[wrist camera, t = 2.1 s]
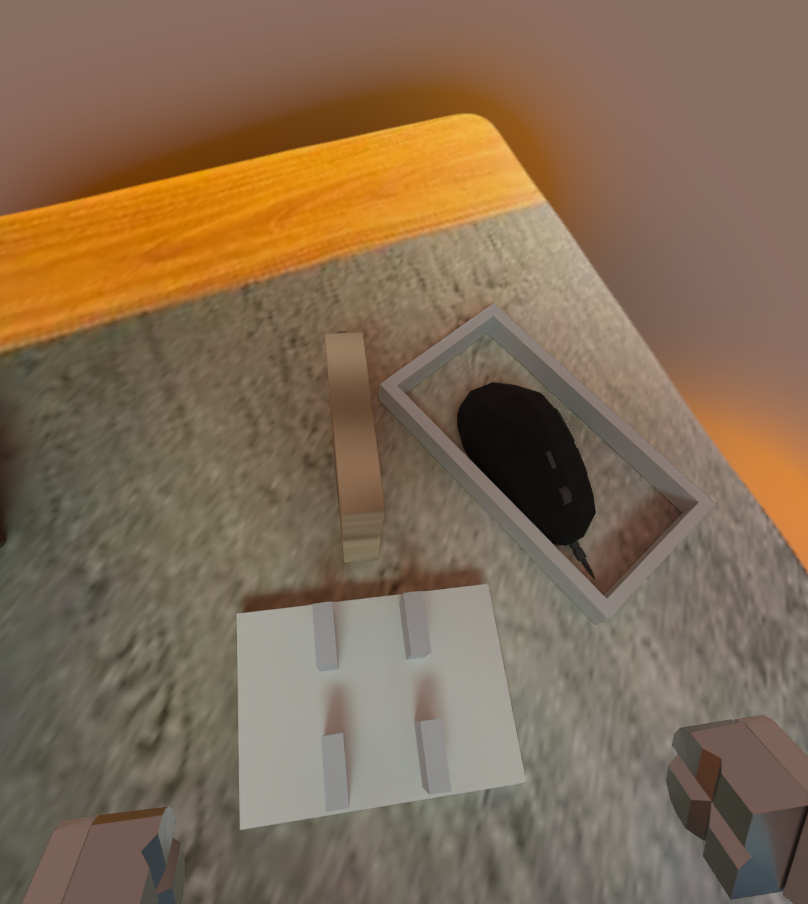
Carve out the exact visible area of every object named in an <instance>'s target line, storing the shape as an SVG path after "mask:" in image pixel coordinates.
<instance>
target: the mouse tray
mask: <svg viewBox="0 0 808 904" xmlns="http://www.w3.org/2000/svg"><path fill="white" fill-rule="evenodd" d="M487 333H488V334H489V335H490V336H491V337H492V338H493V339H495V340H496V341H497V342H498V343H499V344H500V345H501V346H502V347H503V348H504V349H505V350H506V351H508V352H509V353H510V354H511V355H512V356H513V357H514V358H515V359H516V360H517V361H518V362H519V363H521V364H522V365H523V366H524V367H525V368H526V369H527V370H528V371H529V372H530V373H531V374H532V375H534V376H535V377H536V378H537V379H538V380H539V381H540V382H541V383H542V384H543V385H544V386H545V387H547V388H548V389H549V390H550V391H551V392H552V393H553V394H554V395H555V396H556V397H557V398H558V399H560V400H561V401H562V402H563V403H564V404H565V405H566V406H567V407H568V408H569V409H570V410H571V411H573V412H574V413H575V414H576V415H577V416H578V417H579V418H580V419H581V420H582V421H583V422H584V423H586V424H587V425H588V426H589V427H590V428H591V429H592V430H593V431H594V432H595V433H596V434H597V435H599V436H600V437H601V438H602V439H603V440H604V441H605V442H606V443H607V444H608V445H609V446H610V447H612V448H613V449H614V450H615V451H616V452H617V453H618V454H619V455H620V456H621V457H622V458H623V459H625V460H626V461H627V462H628V463H629V464H630V465H631V466H632V467H633V468H634V469H635V470H636V471H638V472H639V473H640V474H641V475H642V476H643V477H644V478H645V479H646V480H647V481H648V482H649V483H651V484H652V485H653V486H654V487H655V488H656V489H657V490H658V491H659V492H660V493H661V494H662V495H664V496H665V497H666V498H667V499H668V500H669V501H670V502H671V503H672V504H673V505H674V506H675V507H677V508H678V509H679V510H680V511H681V512H682V514H681V515H680V516H679V517H678V518H677V519H676V520H675V521H674V522H673V523H672V524H671V525H670V526H669V527H668V528H667V529H666V530H665V531H664V532H663V533H662V534H661V535H660V536H659V538H658V539H657V540H656V541H655V542H654V543H653V544H652V545H651V546H650V547H649V548H648V549H647V550H646V551H645V552H644V553H643V554H642V555H641V556H640V557H639V558H638V559H637V561H636V562H635V563H634V564H633V565H632V566H631V567H630V568H629V569H628V570H627V571H626V572H625V573H624V574H623V575H622V576H621V577H620V578H619V579H618V580H617V581H616V582H615V584H614V585H613V586H612V587H611V588H610V589H609V590H608V591H607V592H606V593H605V594H604V595H603V594H602V593H601V592H600V591H599V590H598V589H597V588H596V587H595V586H594V585H593V584H592V583H591V582H590V581H589V580H588V579H587V578H586V577H585V576H584V575H583V574H582V573H581V572H580V571H579V570H578V569H577V568H576V567H575V566H574V565H573V564H572V563H571V562H570V561H569V560H568V559H567V558H566V557H565V556H564V555H563V554H562V553H561V552H560V551H559V550H558V549H557V548H556V547H555V546H554V545H553V544H552V543H551V541H550V540H549V539H548V538H547V537H546V536H545V535H544V534H543V533H542V532H541V531H540V530H539V529H538V528H537V527H536V526H535V525H534V524H533V523H532V522H531V521H530V520H529V519H528V518H527V517H526V516H525V515H524V514H523V513H522V512H521V511H520V510H519V509H518V508H517V507H516V506H515V505H514V504H513V503H512V502H511V501H510V500H509V499H508V498H507V497H506V496H505V495H504V494H503V493H502V492H501V491H500V490H499V489H498V488H497V487H496V486H495V485H494V484H493V482H492V481H491V480H490V479H489V478H488V477H487V476H486V475H485V474H484V473H483V472H482V471H481V470H480V469H479V468H478V467H477V466H476V465H475V464H474V463H473V462H472V461H471V460H470V459H469V458H468V457H467V456H466V455H465V454H464V453H463V452H462V451H461V450H460V449H459V448H458V447H457V446H456V445H455V444H454V443H453V442H452V441H451V440H450V439H449V438H448V437H447V436H446V435H445V434H444V433H443V432H442V431H441V430H440V429H439V428H438V427H437V426H436V424H435V423H434V422H433V421H432V420H431V419H430V418H429V417H428V416H427V415H426V414H425V413H424V412H423V411H422V410H421V409H420V408H419V407H418V406H417V405H416V404H415V403H414V402H413V401H412V400H411V399H410V398H409V397H408V396H407V395H406V394H405V393H406V392H408V391H409V390H410V389H412V388H413V387H415V386H416V385H417V384H419V383H420V382H421V381H423V380H424V379H426V378H427V377H428V376H430V375H431V374H432V373H434V372H435V371H436V370H438V369H439V368H441V367H442V366H443V365H445V364H446V363H447V362H449V361H450V360H452V359H453V358H454V357H456V356H457V355H458V354H460V353H461V352H462V351H464V350H465V349H467V348H468V347H469V346H471V345H472V344H473V343H475V342H476V341H477V340H479V339H480V338H482V337H483V336H484V335H486V334H487ZM378 399H379V400H380V401H381V402H382V403H383V405H384V406H385V407H386V408H387V409H388V410H389V411H390V412H391V413H392V414H393V415H394V416H395V417H396V418H397V419H398V420H399V421H400V422H401V423H402V424H403V425H404V426H405V427H406V428H407V429H408V431H409V432H410V433H411V434H412V435H413V436H414V437H415V438H416V439H417V440H418V441H419V442H420V443H421V444H422V445H423V446H424V447H425V448H426V449H427V450H428V451H429V452H430V453H431V454H432V456H433V457H434V458H435V459H436V460H437V461H438V462H439V463H440V464H441V465H442V466H443V467H444V468H445V469H446V470H447V471H448V472H449V473H450V474H451V475H452V476H453V477H454V478H455V479H456V480H457V482H458V483H459V484H460V485H461V486H462V487H463V488H464V489H465V490H466V491H467V492H468V493H469V494H470V495H471V496H472V497H473V498H474V499H475V500H476V501H477V502H478V503H479V504H480V505H481V506H482V508H483V509H484V510H485V511H486V512H487V513H488V514H489V515H490V516H491V517H492V518H493V519H494V520H495V521H496V522H497V523H498V524H499V525H500V526H501V527H502V528H503V529H504V530H505V531H506V533H507V534H508V535H509V536H510V537H511V538H512V539H513V540H514V541H515V542H516V543H517V544H518V545H519V546H520V547H521V548H522V549H523V550H524V551H525V552H526V553H527V554H528V555H529V556H530V557H531V559H532V560H533V561H534V562H535V563H536V564H537V565H538V566H539V567H540V568H541V569H542V570H543V571H544V572H545V573H546V574H547V575H548V576H549V577H550V578H551V579H552V580H553V581H554V582H555V583H556V585H557V586H558V587H559V588H560V589H561V590H562V591H563V592H564V593H565V594H566V595H567V596H568V597H569V598H570V599H571V600H572V601H573V602H574V603H575V604H576V605H577V606H578V607H579V608H580V610H581V611H582V612H583V613H584V614H585V615H586V616H587V617H588V618H589V619H590V620H591V621H592V622H593V623H594V624H595V625H596V624H598V623H601V622H604V621H606V620H609V619H610V618H611V616H612V615H613V614H614V613H615V612H616V611H617V610H618V609H619V608H620V607H621V606H622V605H623V604H624V603H625V601H626V600H627V599H628V598H629V597H630V596H631V595H632V594H633V593H634V592H635V591H636V590H637V589H638V588H639V586H640V585H641V584H642V583H643V582H644V581H645V580H646V579H647V578H648V577H649V576H650V575H651V574H652V573H653V571H654V570H655V569H656V568H657V567H658V566H659V565H660V564H661V563H662V562H663V561H664V560H665V559H666V557H667V556H668V555H669V554H670V553H671V552H672V551H673V550H674V549H675V548H676V547H677V546H678V545H679V544H680V542H681V541H682V540H683V539H684V538H685V537H686V536H687V535H688V534H689V533H690V532H691V531H692V530H693V529H694V527H695V526H696V525H697V524H698V523H699V522H700V521H701V520H702V519H703V518H704V517H705V516H706V515H707V514H708V512H709V511H710V510H711V509H712V508H713V507H714V506H715V505H716V503H715V502H714V501H713V500H712V499H711V498H710V497H709V496H707V495H706V494H705V493H704V492H703V491H702V490H701V489H700V488H699V487H697V486H696V485H695V484H694V483H693V482H692V481H691V480H690V479H689V478H687V477H686V476H685V475H684V474H683V473H682V472H681V471H680V470H679V469H677V468H676V467H675V466H674V465H673V464H672V463H671V462H670V461H669V460H667V459H666V458H665V457H664V456H663V455H662V454H661V453H660V452H659V451H657V450H656V449H655V448H654V447H653V446H652V445H651V444H650V443H649V442H647V441H646V440H645V439H644V438H643V437H642V436H641V435H640V434H639V433H637V432H636V431H635V430H634V429H633V428H632V427H631V426H630V425H629V424H627V423H626V422H625V421H624V420H623V419H622V418H621V417H620V416H619V415H617V414H616V413H615V412H614V411H613V410H612V409H611V408H610V407H609V406H607V405H606V404H605V403H604V402H603V401H602V400H601V399H600V398H599V397H597V396H596V395H595V394H594V393H593V392H592V391H591V390H590V389H589V388H587V387H586V386H585V385H584V384H583V383H582V382H581V381H580V380H579V379H577V378H576V377H575V376H574V375H573V374H572V373H571V372H570V371H569V370H567V369H566V368H565V367H564V366H563V365H562V364H561V363H560V362H559V361H557V360H556V359H555V358H554V357H553V356H552V355H551V354H550V353H549V352H547V351H546V350H545V349H544V348H543V347H542V346H541V345H540V344H539V343H537V342H536V341H535V340H534V339H533V338H532V337H531V336H530V335H529V334H527V333H526V332H525V331H524V330H523V329H522V328H521V327H520V326H519V325H517V324H516V323H515V322H514V321H513V320H512V319H511V318H510V317H509V316H507V315H506V314H505V313H504V312H503V311H502V310H501V309H500V308H499V307H497V306H496V305H495V304H494V303H493V304H491V305H490V306H488V307H487V308H486V309H484V310H483V311H481V312H480V313H479V314H477V315H476V316H474V317H473V318H472V319H470V320H469V321H467V322H466V323H465V324H463V325H462V326H460V327H459V328H458V329H456V330H455V331H453V332H452V333H450V334H449V335H448V336H446V337H445V338H443V339H442V340H441V341H439V342H438V343H436V344H435V345H434V346H432V347H431V348H429V349H428V350H427V351H425V352H424V353H422V354H421V355H419V356H418V357H417V358H415V359H414V360H412V361H411V362H410V363H408V364H407V365H405V366H404V367H403V368H401V369H400V370H398V371H397V372H396V373H394V374H393V375H391V376H390V377H388V378H387V379H386V380H384V381H383V382H381V383H380V386H379V398H378Z"/></svg>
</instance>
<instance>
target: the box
mask: <svg viewBox="0 0 808 904" xmlns="http://www.w3.org/2000/svg"><path fill="white" fill-rule="evenodd" d="M3 545H4V540H3V538H2V536H1V535H0V548H1V547H2V546H3Z"/></svg>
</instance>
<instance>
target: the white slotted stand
mask: <svg viewBox="0 0 808 904" xmlns="http://www.w3.org/2000/svg"><path fill="white" fill-rule="evenodd" d="M237 664H238V731H239V798H240V830H243V829H249V828H255V827H261V826H267V825H273V824H279V823H285V822H291V821H297V820H303V819H309V818H315V817H321V816H328V815H334V814H340V813H346V812H352V811H358V810H364V809H370V808H376V807H382V806H388V805H394V804H400V803H406V802H412V801H418V800H424V799H430V798H436V797H442V796H448V795H454V794H460V793H466V792H472V791H478V790H484V789H490V788H497V787H503V786H509V785H515V784H521V783H526V780H525V774H524V769H523V764H522V759H521V753H520V748H519V743H518V738H517V733H516V727H515V722H514V717H513V712H512V706H511V701H510V696H509V691H508V686H507V680H506V675H505V670H504V665H503V659H502V654H501V649H500V644H499V638H498V633H497V628H496V623H495V618H494V612H493V607H492V602H491V597H490V591H489V586H488V584H482V585H473V586H465V587H457V588H448V589H440V590H432V591H414V592H406V593H403V594H398V595H390V596H381V597H373V598H365V599H356V600H348V601H340V602H332V601H331V602H322V603H314V604H312V605H306V606H298V607H290V608H281V609H273V610H264V611H256V612H248V613H239V614H237Z"/></svg>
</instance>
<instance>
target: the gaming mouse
mask: <svg viewBox="0 0 808 904" xmlns="http://www.w3.org/2000/svg"><path fill="white" fill-rule="evenodd" d="M457 426H458V429H459V433H460V437H461V441H462V444H463V448H464V449H465V451H466V453H467V454H468V456H469V458H470V460H471V461H472V462H473V463H474V464H475V465H476V466H477V467H478V468H479V469H480V470H481V471H482V472H483V473H484V474H485V475H486V476H487V477H488V478H489V479H490V480H491V481H492V482H493V484H494V485H495V486H496V487H497V488H498V489H499V490H500V491H501V492H502V493H503V494H504V495H505V496H506V497H507V498H508V499H509V500H510V501H511V502H512V503H513V504H514V505H515V506H516V507H517V508H518V509H519V510H520V511H521V512H522V513H523V514H524V515H525V516H526V517H527V518H528V519H529V520H530V521H531V522H532V523H533V524H534V525H535V526H536V527H537V528H538V529H539V530H540V531H541V532H542V533H543V534H544V535H545V536H546V537H547V538H548V539H549V540H550V541H551V543H552V544H557V545H565V546H566V545H568V544H569V545H570V547H571V549H573V550H574V551H573V553H574V555H575V557H576V558H577V560H578V561H581V562H582V564H583V565H584V567H585V568H586V570H587V572H588V573H589V574H590V575H591V576H592V577H593V578H594V575H593V572H592V570H591V568H590V566H589V564H588V563H587V561H586V559H585V558H586V555H585V553H584V551H583V549H582V548H580V547H579V543H578V541H576V540H578V539H580V538H582V537H584V535H585V533H586V531H587V529H588V527H589V525H590V523H591V521H592V519H593V517H594V515H595V513H596V511H595V504H594V497H593V492H592V489H591V486H590V482H589V479H588V476H587V475H588V474H587V471H586V468H585V465H584V463H583V460H582V458H581V455H580V452H579V450H578V448H576V446H575V443H574V441H575V440H574V438H573V436H572V434H571V433H570V431H569V429H568V427H567V425H566V423H565V421H564V420H563V418H562V416H561V414H560V413H559V411H558V410H557V409H556V408H554V407H553V406H552V405H551V404H550V403H549V401H548V400H547V399H546V398H545V397H544V396H543V395H542V394H541V393H539V392H536V391H532V390H529V389H526V388H522V387H519V386H515V385H510V384H502V383H490V384H488V385H485V386H483V387H480V388H478V389H475V390H472V391H471V392H470V393H469V394H468V396H467V397H466V399H465V400H464V402H463V403H462V404H461V406H460V409H459V412H458V419H457ZM594 579H595V578H594Z"/></svg>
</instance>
